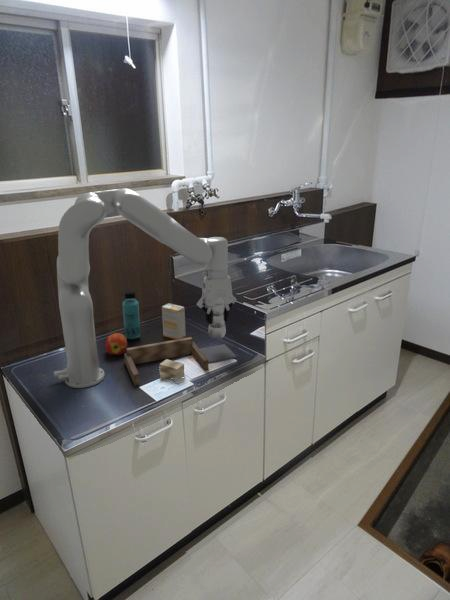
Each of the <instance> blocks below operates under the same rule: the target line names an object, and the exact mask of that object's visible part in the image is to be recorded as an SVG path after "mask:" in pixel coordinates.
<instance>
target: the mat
mask: <svg viewBox="0 0 450 600" xmlns="http://www.w3.org/2000/svg"><path fill="white" fill-rule="evenodd" d="M199 349H200V350H201V351H202V353H203V354H204V355H205V356H206V358H207V359H208V360H209V364H213V363H219V362H222V361H228V360H233V359H237V355H236V354H235V353H234V352H233V351H232V350H231V349H230V348H229V347H228V346H227V344H224V343H223V344H217V345H214V346H213V345H211V346H209V347H202V348H199Z"/></svg>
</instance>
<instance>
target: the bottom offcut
mask: <svg viewBox="0 0 450 600" xmlns="http://www.w3.org/2000/svg"><path fill="white" fill-rule="evenodd" d="M182 377H184V378H185V370H184V371H183V372H182V373H180V374H179V375H178V376H177V375H173V374H170V373H166V372H162V371H160V370H159V378H160V381H165V380H164V379H168V380H172V379H171V378H180V379H183V378H182Z"/></svg>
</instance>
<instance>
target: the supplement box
mask: <svg viewBox="0 0 450 600" xmlns="http://www.w3.org/2000/svg"><path fill="white" fill-rule="evenodd" d="M185 310H186V309H185V306H181V305H179V304H178V305H177V304H174V303H165V304H164V305H162V306H161V314H162V315H161V316H162V331H163V332H162V333H163V337H165V338H168V339H172V340H177V339H182V338H187V337H186V315H185V314H186V313H185Z"/></svg>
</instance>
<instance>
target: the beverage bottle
mask: <svg viewBox="0 0 450 600" xmlns="http://www.w3.org/2000/svg"><path fill="white" fill-rule="evenodd" d="M124 298H125V300H123V302H122V303H121V304H122V317H123V318H122V320H123V321H122V322H123V331H124V334H123V335H124V336H125V337H126V339H127V340H135V339H138V338H140V337H141V320H140V307H139V306H140V305H139V304H140V303H139V301H138V300H137V299H136V292H135V291H134V290H127V291H125V292H124Z"/></svg>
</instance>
